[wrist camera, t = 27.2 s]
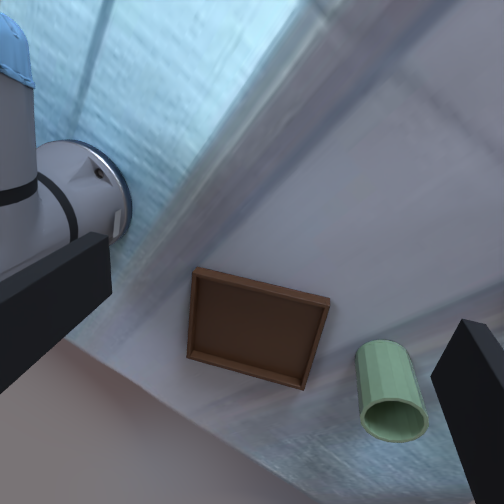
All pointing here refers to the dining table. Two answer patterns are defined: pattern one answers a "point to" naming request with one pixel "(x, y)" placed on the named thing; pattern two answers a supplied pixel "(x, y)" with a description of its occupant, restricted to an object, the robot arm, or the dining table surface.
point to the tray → (254, 327)
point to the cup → (389, 393)
